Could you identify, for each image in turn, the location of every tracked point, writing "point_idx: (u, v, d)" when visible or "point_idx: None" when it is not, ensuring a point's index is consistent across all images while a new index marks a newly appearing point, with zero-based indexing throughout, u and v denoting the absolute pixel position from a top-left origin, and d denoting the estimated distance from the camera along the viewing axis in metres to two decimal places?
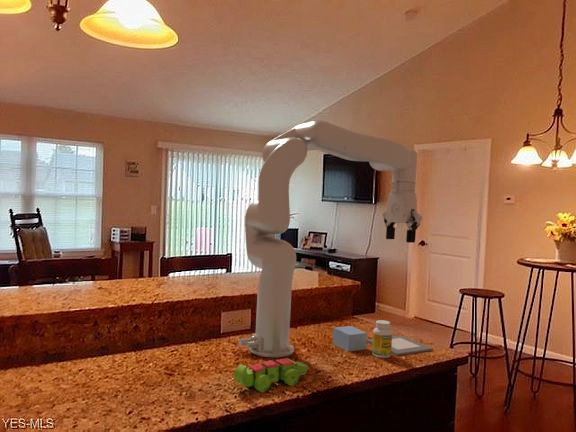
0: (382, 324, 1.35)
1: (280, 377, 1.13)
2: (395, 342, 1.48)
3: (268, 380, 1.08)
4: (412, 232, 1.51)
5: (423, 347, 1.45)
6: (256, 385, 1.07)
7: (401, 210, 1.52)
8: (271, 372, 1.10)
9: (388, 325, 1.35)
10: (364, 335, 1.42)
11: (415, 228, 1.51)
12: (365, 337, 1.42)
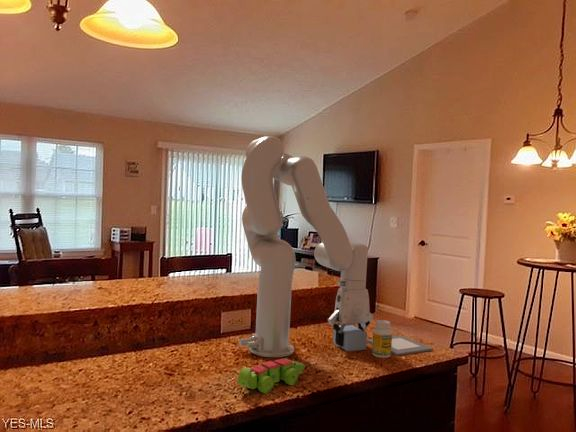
0: (382, 324, 1.35)
1: (280, 377, 1.12)
2: (395, 342, 1.48)
3: (271, 381, 1.08)
4: None
5: (423, 347, 1.45)
6: (260, 387, 1.06)
7: (364, 310, 1.43)
8: (272, 373, 1.10)
9: (388, 325, 1.35)
10: (364, 335, 1.41)
11: None
12: (365, 337, 1.42)
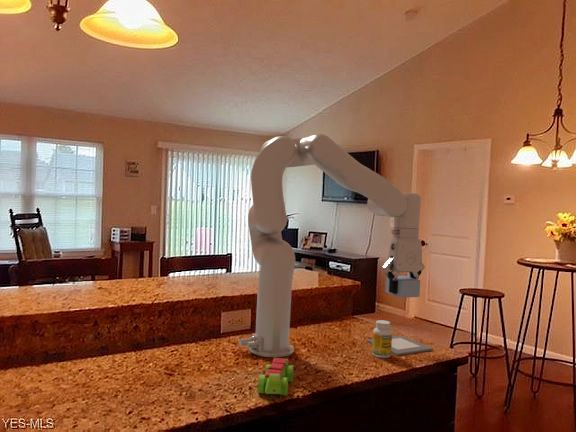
0: (382, 324, 1.35)
1: None
2: (395, 342, 1.48)
3: (287, 382, 1.08)
4: None
5: (423, 347, 1.45)
6: (284, 390, 1.05)
7: (417, 258, 1.45)
8: (283, 374, 1.10)
9: (388, 325, 1.35)
10: (417, 282, 1.44)
11: None
12: (418, 284, 1.44)
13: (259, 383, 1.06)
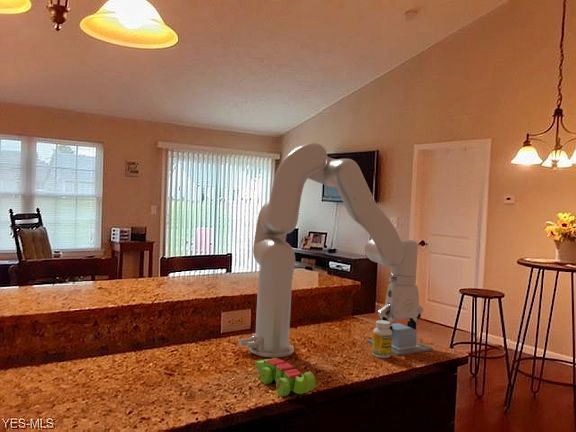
0: (382, 324, 1.35)
1: None
2: None
3: None
4: None
5: (423, 347, 1.45)
6: None
7: (414, 305, 1.45)
8: None
9: (388, 325, 1.35)
10: (414, 332, 1.44)
11: None
12: (415, 334, 1.45)
13: (286, 386, 1.05)
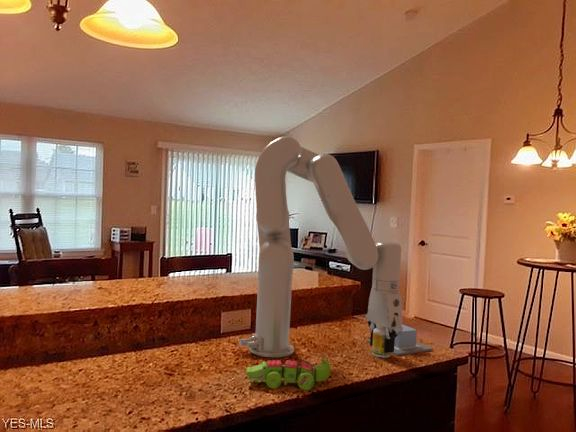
0: None
1: None
2: None
3: None
4: None
5: (423, 347, 1.45)
6: None
7: None
8: None
9: None
10: (414, 332, 1.44)
11: None
12: (415, 334, 1.45)
13: (313, 378, 1.10)
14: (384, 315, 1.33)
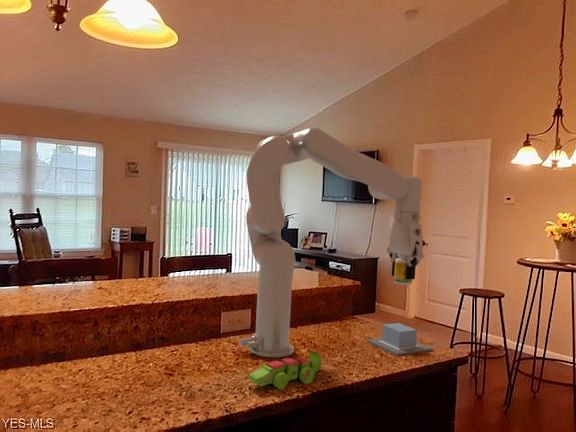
0: None
1: None
2: None
3: None
4: None
5: (423, 347, 1.45)
6: None
7: None
8: None
9: None
10: (414, 332, 1.44)
11: None
12: (415, 334, 1.45)
13: None
14: (406, 244, 1.42)
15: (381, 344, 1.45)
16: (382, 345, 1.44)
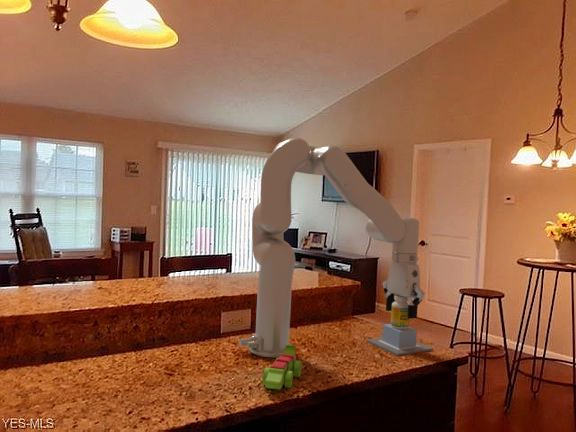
0: (400, 298, 1.45)
1: None
2: None
3: None
4: None
5: (423, 347, 1.45)
6: None
7: None
8: None
9: (406, 299, 1.45)
10: (414, 332, 1.44)
11: None
12: (415, 334, 1.45)
13: None
14: (403, 285, 1.43)
15: (381, 344, 1.45)
16: (382, 345, 1.44)
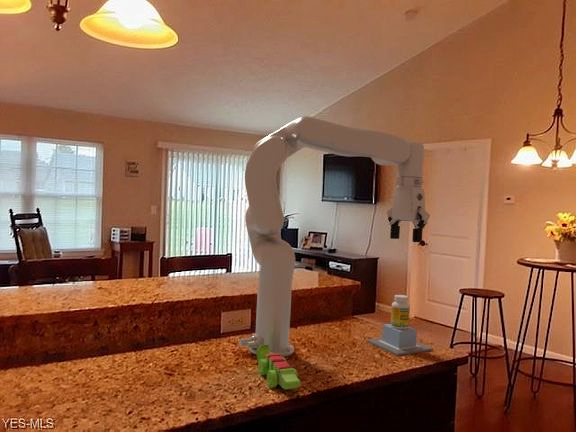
0: (400, 298, 1.45)
1: None
2: None
3: (262, 366, 1.17)
4: None
5: (423, 347, 1.45)
6: None
7: None
8: (269, 363, 1.16)
9: (406, 299, 1.45)
10: (414, 332, 1.44)
11: None
12: (415, 334, 1.45)
13: None
14: (408, 209, 1.42)
15: (381, 344, 1.45)
16: (382, 345, 1.44)
